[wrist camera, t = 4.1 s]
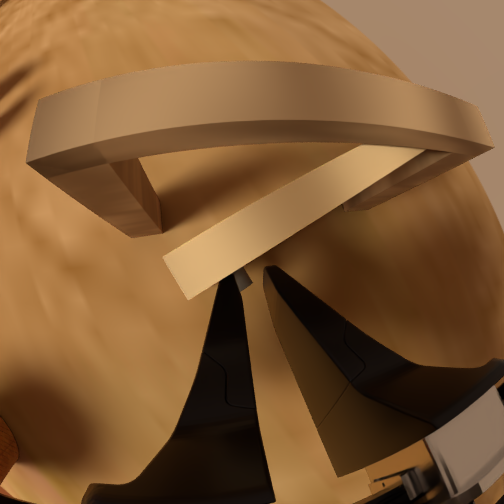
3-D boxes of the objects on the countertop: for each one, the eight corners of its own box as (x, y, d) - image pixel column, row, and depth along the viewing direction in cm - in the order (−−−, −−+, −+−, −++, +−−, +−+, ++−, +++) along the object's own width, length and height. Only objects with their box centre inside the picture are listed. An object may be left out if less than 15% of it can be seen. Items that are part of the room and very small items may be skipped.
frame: (361, 182, 19) (477, 106, 8) (368, 209, 19) (494, 147, 8) (129, 206, 16) (38, 99, 5) (131, 237, 16) (25, 162, 5)
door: (333, 185, 18) (425, 114, 9) (351, 213, 18) (454, 160, 9) (187, 273, 16) (162, 257, 7) (208, 306, 16) (211, 335, 7)
